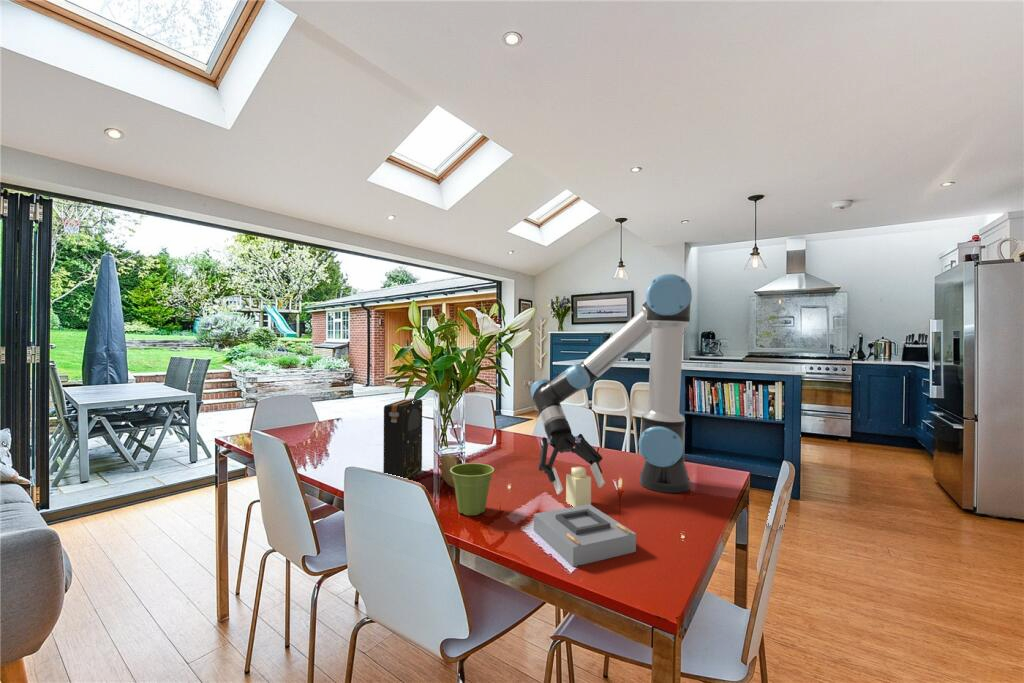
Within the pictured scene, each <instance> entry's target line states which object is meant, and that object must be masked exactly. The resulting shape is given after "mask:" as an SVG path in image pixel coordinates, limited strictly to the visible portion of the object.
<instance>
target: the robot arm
mask: <svg viewBox="0 0 1024 683" xmlns="http://www.w3.org/2000/svg"><path fill="white" fill-rule="evenodd" d="M692 294H693V293H692V288H691V285H690V283H689V282H688V281H687V280H686V279H685V278H684V277H682V276H680V275H677V274H673V273H666V274H661V275H659V276H657V277H655V278H654V279H652V281H650V283H649V285H648V286H647V289H646V292H645V302H644V303H642V305H641V309H640V311H639V312H637V313H636V314H635V315H634V316H633V317H631V318H630V319H629V320H628V321H627V322H626V323H625V324H623V325H622V326H621V328H619V329H618V330H617V331H616V332H614V333H613V335H611V336H610V337H609V338H607V339H606V341H604V342H603V343H602V344H601V345H599V347H597V348H596V349H595V350H594V351H593V352H592V353H591V354H590V355H588V356H587V357H586V358H585V359H584V360H583V361H581V362H580V363H574V364H573V365H571V366H569V367H567V368H566V370H564V371H562V372H561V373H560V374H558V375H557V376H556V377H554V378H553V379H552V380H549V379H546V378H541V379H540V380H537V381H535V382H533V383H532V385H531V386H530V390H529V391H530V394H531V397H532V401H533V403H534V405H535V408H536V410H537V413H538V415H539V418H540V420H541V424H542V427H543V428H544V432H545V434H546V437H545V436H544V437H542V439H541V440H540V442H539V444H540V454H539V463H538V471H540V472H544V474H546V475H547V477H548V481H549V482H550V483H553V486H554V489H555V492H556V495H560V494H561V493H562V492H563V490H564V487H563V485H562V482H561V480H560V477H559V474H558V472H557V469H556V467H553V466H554V463H555V460H556V458H557V455H558V453H560V454H563V453H570V452H571V453H573V454H576V455H577V457H579V458H581V459H583V461H585V462H586V463H588V464H589V465H590V467H589V468H590V471H591V472H592V475H593V477H594V479H595V482H596V483H597V484H596V485H597V487H598V489H599V488H603V486H605V484H606V482H605V480H604V477H603V470H602V468H601V466H600V462H601V461H602V460H603V456H602V455H601V454H600V453H599V452H598V451H597V450H596V449H595V448H594V447H593V445H591V444H590V443H589V442H588V441H587V440H586V439H585V437H584V435H583V434H582V433H579V434H578V435H576V436H575V435H574V434H573V433H572V428H571V426H570V424H569V422H568V420H567V416H566V414H565V412H564V410H563V407H562V405H561V403H562V402H564V401H565V400H567V399H569V397H572V396H573V395H575V394H576V393H578V392H581V391H583V390H587V389H588V388H589V387H590V386H592V384H593V383H594V382H595V381H596V380H597V379H598V378H600V377H601V376H602V375H603V374H604V373H605V372H607V371H608V370H609V369H611V367H612V366H614V365H615V364H616V363H618V361H620V360H621V359H622V358H623V357H624V356H626V355H627V354H628V353H629V352H630V351H631V350H633V349H635V347H636V346H637V345H638V344H640V343H641V342H643V340H644V339H646V338H647V337H648V336H649V335H650V336H651V337H650V339H651V340H650V341H651V342H650V358H649V377H648V399H647V409H646V411H644V413H642V415H641V428H640V436H639V438H638V443H637V444H638V449H639V452H640V454H641V456H642V458H643V459H644V460H645V461H644V463H643V466H642V469H641V472H640V474H639V484H640V485H641V486H643V487H644V488H646V489H649V490H652V491H655V492H660V493H667V494H668V493H669V494H671V493H672V494H676V493H685V492H687V491H689V490H690V489H691V479H690V478H689V474H688V471H687V467H686V464H685V446H686V445H685V444H686V442H685V441H686V440H685V439H686V438H685V437H686V436H685V434H686V431H685V430H686V429H685V428H686V418H685V416H684V415H683V414H681V413H680V406H681V405H680V404H681V402H680V401H681V384H682V383H681V382H682V380H681V379H682V366H683V365H682V362H683V348H684V347H683V345H684V344H683V343H684V329H685V328H686V327H687V326H689V325H690V322H691V320H690V317H691V304H692V299H693V298H692V297H693V296H692ZM549 445H550V446H551V447H553V450H552V451H551V454H550V457H549V460H548V462H547V457H548V456H547V455H548V448H549Z"/></svg>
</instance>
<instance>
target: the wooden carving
mask: <svg viewBox="0 0 1024 683" xmlns="http://www.w3.org/2000/svg"><path fill="white" fill-rule="evenodd" d="M440 463H441V464H439V465H438V468H439V470H441V473H440V476H441V478H442V479H443V481H445V482H444V483H446V484H447V485H448V486H449V487H451V488H453V489H455V484H454V481H453V476H452V473H451V472H450V469H451V468H452V467H453V466H456V465H460V464H464V463H463V461H462V459H460V458H459V457H458V456H457V455H456V454H454V453H453V454H452V453H445V454H442V455H441V456H440Z"/></svg>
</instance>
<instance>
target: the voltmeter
mask: <svg viewBox="0 0 1024 683" xmlns="http://www.w3.org/2000/svg"><path fill="white" fill-rule="evenodd" d="M414 399H415V400H416V401H415V402H414V404H412V401H413V400H414ZM382 467H383V471H382V472H383V473H388V474H392V475H396V476H400V477H403V478H408V480H410V479H411V478H412V477H414V476H415V475H416V474H418V473H419V472H421V471H422V470H423V469H422V468H423V400H422V399H421V398H420V399H419V400H418V399H417V398H409V399H405V398H404V399H401V400H397V401H395V402H391V403H389V404H385V405H384V406H383V466H382ZM417 472H418V473H417ZM414 474H415V475H414ZM413 475H414V476H413Z"/></svg>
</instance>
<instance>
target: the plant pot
mask: <svg viewBox="0 0 1024 683" xmlns="http://www.w3.org/2000/svg"><path fill="white" fill-rule="evenodd" d="M450 472H451V473H452V476H453V481H454V484H455V488H454V490H455V498H456V505H457V510H458V512H459V514H463V515H464V516H468V517H469V516H470V517H471V516H477V515H480V514H481V513H484V512H485V511H486V507H487V501H488V500H487V499H488V495H489V488H490V483H491V480H492V476H493V473H494V472H495V468H494V467H493V466H492V465H489V464H485V463H478V462H477V463H476V462H474V463H473V462H469V463H467V462H466V463H463V464H460V465H456V466H453V467H452V468H451V469H450Z"/></svg>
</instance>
